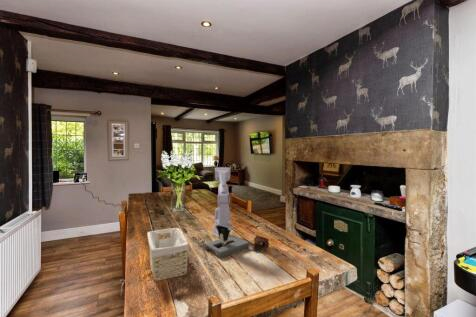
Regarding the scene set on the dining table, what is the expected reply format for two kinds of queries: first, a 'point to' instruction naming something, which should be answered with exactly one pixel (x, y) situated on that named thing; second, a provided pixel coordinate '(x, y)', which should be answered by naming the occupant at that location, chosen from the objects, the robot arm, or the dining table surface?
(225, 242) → the brass peg
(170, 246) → the storage basket
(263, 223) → the dining table surface
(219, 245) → the keyhole plate
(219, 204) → the robot arm
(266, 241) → the dark wooden box
